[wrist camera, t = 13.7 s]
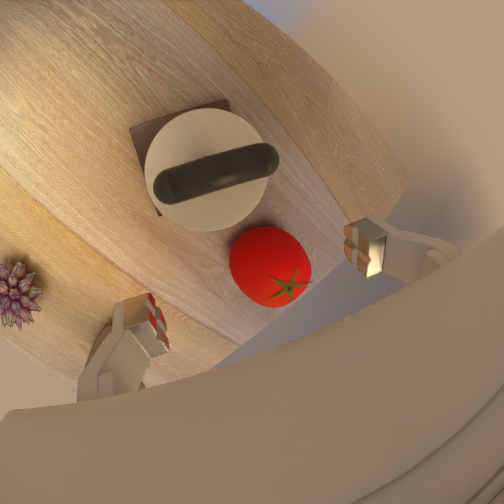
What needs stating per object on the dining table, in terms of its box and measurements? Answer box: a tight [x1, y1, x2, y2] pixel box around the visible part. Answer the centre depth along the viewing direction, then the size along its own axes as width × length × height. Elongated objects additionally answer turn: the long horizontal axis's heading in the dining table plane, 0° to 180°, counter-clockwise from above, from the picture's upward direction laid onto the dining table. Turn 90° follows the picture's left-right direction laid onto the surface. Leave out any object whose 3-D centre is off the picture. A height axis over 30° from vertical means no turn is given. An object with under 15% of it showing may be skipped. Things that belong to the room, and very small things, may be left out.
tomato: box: [229, 226, 312, 308], centre depth 43 cm, size 13×11×14 cm
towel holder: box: [144, 108, 279, 232], centre depth 24 cm, size 22×9×9 cm
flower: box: [0, 259, 42, 330], centre depth 32 cm, size 12×12×12 cm
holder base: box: [130, 100, 231, 216], centre depth 35 cm, size 14×14×8 cm
